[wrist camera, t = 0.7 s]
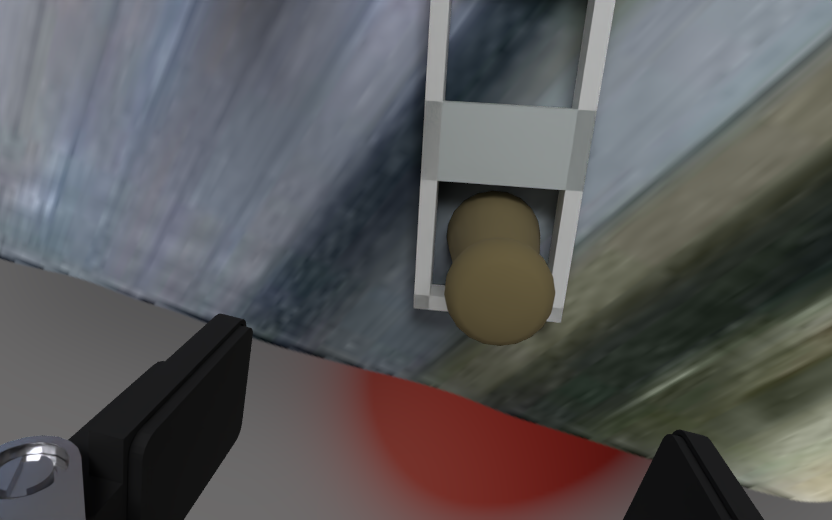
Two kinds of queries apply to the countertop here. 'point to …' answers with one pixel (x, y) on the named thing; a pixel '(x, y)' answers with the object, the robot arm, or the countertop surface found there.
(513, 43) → the countertop surface
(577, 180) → the socket frame
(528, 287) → the cork
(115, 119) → the countertop surface
